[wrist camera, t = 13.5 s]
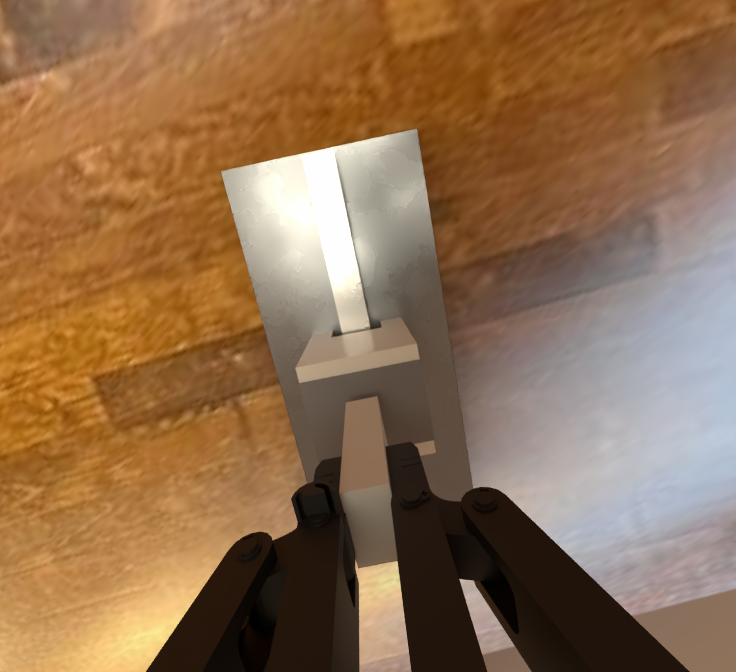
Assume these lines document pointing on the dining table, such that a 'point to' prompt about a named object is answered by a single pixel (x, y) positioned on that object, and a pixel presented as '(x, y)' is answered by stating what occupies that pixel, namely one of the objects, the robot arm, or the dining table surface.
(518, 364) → the dining table surface
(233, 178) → the rail
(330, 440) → the block
